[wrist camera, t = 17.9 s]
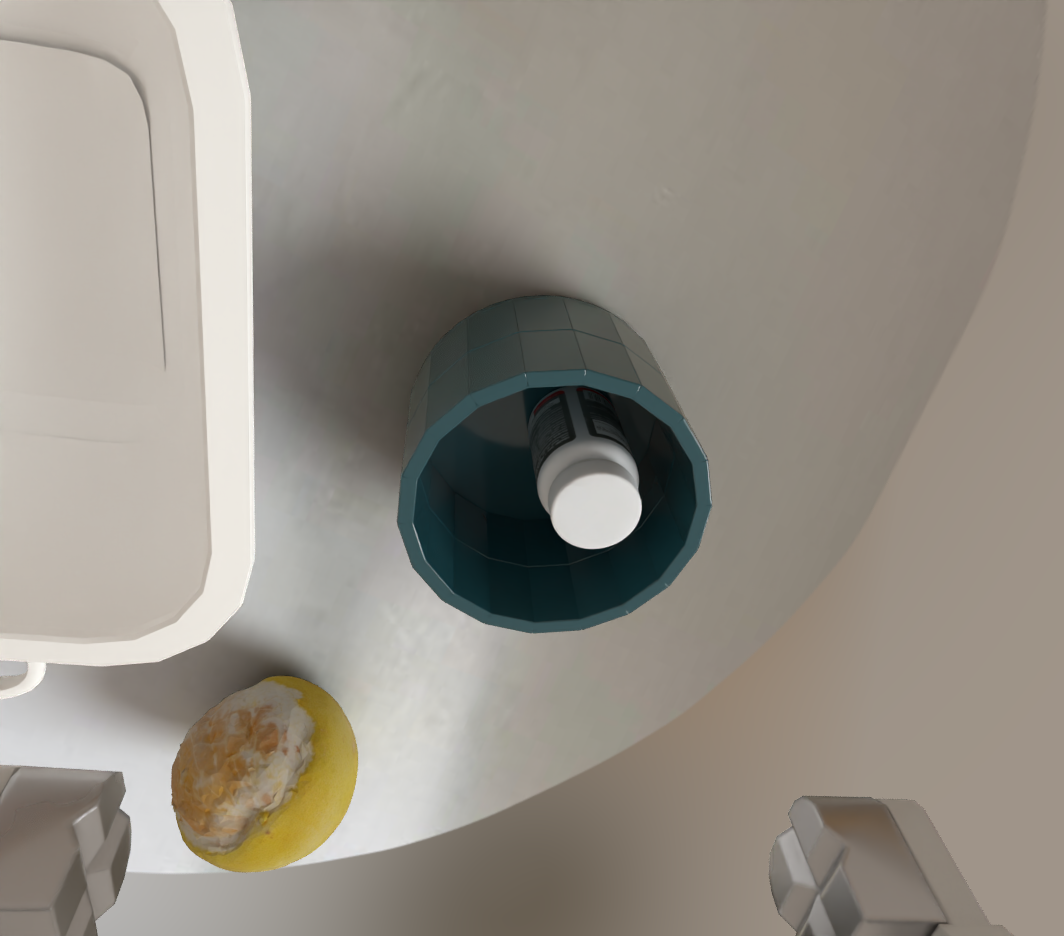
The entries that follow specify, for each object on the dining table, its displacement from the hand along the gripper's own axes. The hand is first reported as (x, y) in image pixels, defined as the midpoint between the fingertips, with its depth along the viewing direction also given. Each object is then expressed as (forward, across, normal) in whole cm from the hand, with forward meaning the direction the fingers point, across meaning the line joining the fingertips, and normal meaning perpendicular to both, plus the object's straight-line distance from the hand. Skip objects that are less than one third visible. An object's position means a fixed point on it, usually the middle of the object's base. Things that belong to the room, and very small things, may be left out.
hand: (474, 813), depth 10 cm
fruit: (+31, +8, +32) cm, 45 cm away
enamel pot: (+31, -5, +10) cm, 33 cm away
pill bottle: (+31, -7, +10) cm, 33 cm away
